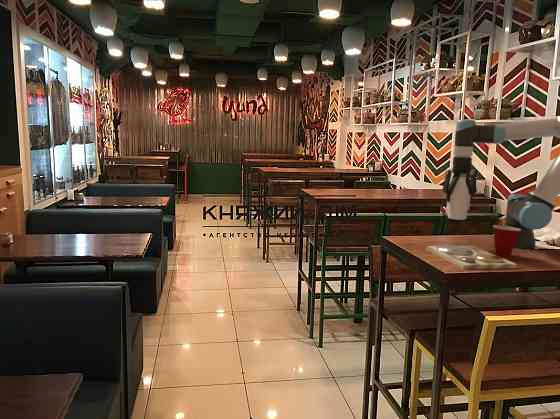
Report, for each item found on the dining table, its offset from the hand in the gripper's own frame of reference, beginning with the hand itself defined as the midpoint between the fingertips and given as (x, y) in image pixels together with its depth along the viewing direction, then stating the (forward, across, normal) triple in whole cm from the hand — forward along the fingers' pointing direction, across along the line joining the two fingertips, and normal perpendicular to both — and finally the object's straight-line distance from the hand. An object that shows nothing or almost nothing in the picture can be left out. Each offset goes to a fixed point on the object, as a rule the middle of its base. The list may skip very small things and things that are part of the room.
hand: (457, 209), depth 206 cm
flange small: (+15, +12, +29) cm, 34 cm away
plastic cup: (+17, -14, +15) cm, 26 cm away
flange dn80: (+15, +2, +27) cm, 31 cm away
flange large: (+15, +8, +14) cm, 22 cm away
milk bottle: (+4, 0, 0) cm, 4 cm away
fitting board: (+17, +6, +20) cm, 26 cm away
